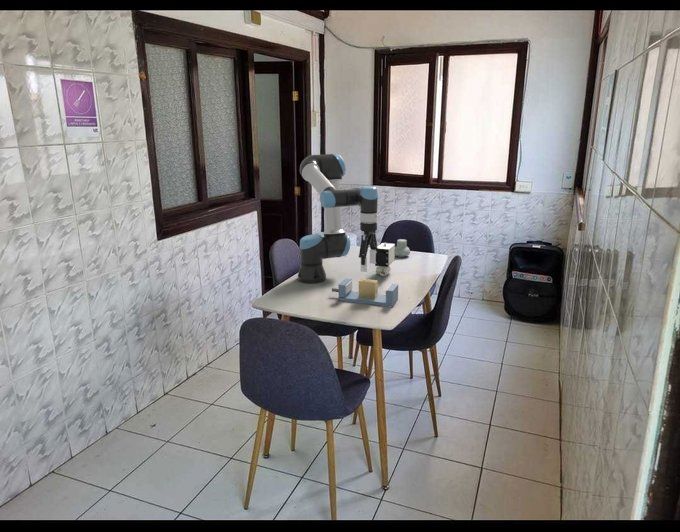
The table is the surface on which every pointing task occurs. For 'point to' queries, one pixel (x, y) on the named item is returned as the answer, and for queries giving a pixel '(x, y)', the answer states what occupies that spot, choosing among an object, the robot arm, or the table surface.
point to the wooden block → (368, 288)
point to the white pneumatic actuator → (384, 258)
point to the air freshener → (402, 248)
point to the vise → (383, 300)
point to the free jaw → (344, 288)
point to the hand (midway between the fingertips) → (368, 267)
